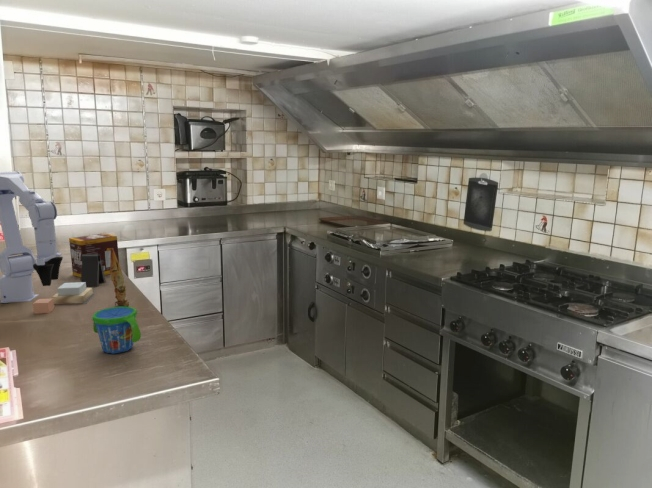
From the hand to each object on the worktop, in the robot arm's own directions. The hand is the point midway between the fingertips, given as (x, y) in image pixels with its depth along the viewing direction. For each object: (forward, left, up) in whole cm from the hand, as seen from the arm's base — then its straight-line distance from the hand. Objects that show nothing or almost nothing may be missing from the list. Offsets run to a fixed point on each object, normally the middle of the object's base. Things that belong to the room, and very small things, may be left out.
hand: (50, 282), depth 167 cm
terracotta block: (-2, -1, -10) cm, 10 cm away
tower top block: (+3, +11, -7) cm, 13 cm away
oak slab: (+3, +11, -9) cm, 14 cm away
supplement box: (-1, +50, -10) cm, 51 cm away
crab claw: (+21, +2, -10) cm, 23 cm away
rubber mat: (+3, +11, -10) cm, 15 cm away
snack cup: (+29, -36, -10) cm, 47 cm away
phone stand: (+4, +31, -10) cm, 33 cm away
